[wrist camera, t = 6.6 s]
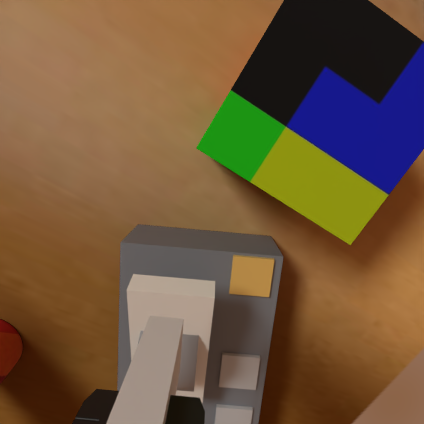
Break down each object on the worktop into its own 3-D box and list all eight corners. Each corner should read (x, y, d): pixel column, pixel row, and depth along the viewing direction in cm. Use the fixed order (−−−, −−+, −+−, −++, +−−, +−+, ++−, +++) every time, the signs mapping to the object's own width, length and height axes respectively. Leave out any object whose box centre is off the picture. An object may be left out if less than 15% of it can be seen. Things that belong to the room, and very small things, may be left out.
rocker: (144, 364, 25) (127, 428, 20) (140, 257, 19) (117, 313, 15) (204, 369, 25) (200, 434, 20) (215, 263, 20) (213, 321, 15)
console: (130, 446, 32) (113, 508, 27) (137, 224, 27) (118, 244, 21) (240, 455, 32) (245, 518, 27) (271, 236, 27) (285, 259, 21)
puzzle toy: (370, 106, 24) (475, 80, 15) (299, 207, 26) (350, 245, 16) (269, 35, 23) (310, -44, 13) (203, 147, 25) (196, 148, 15)
